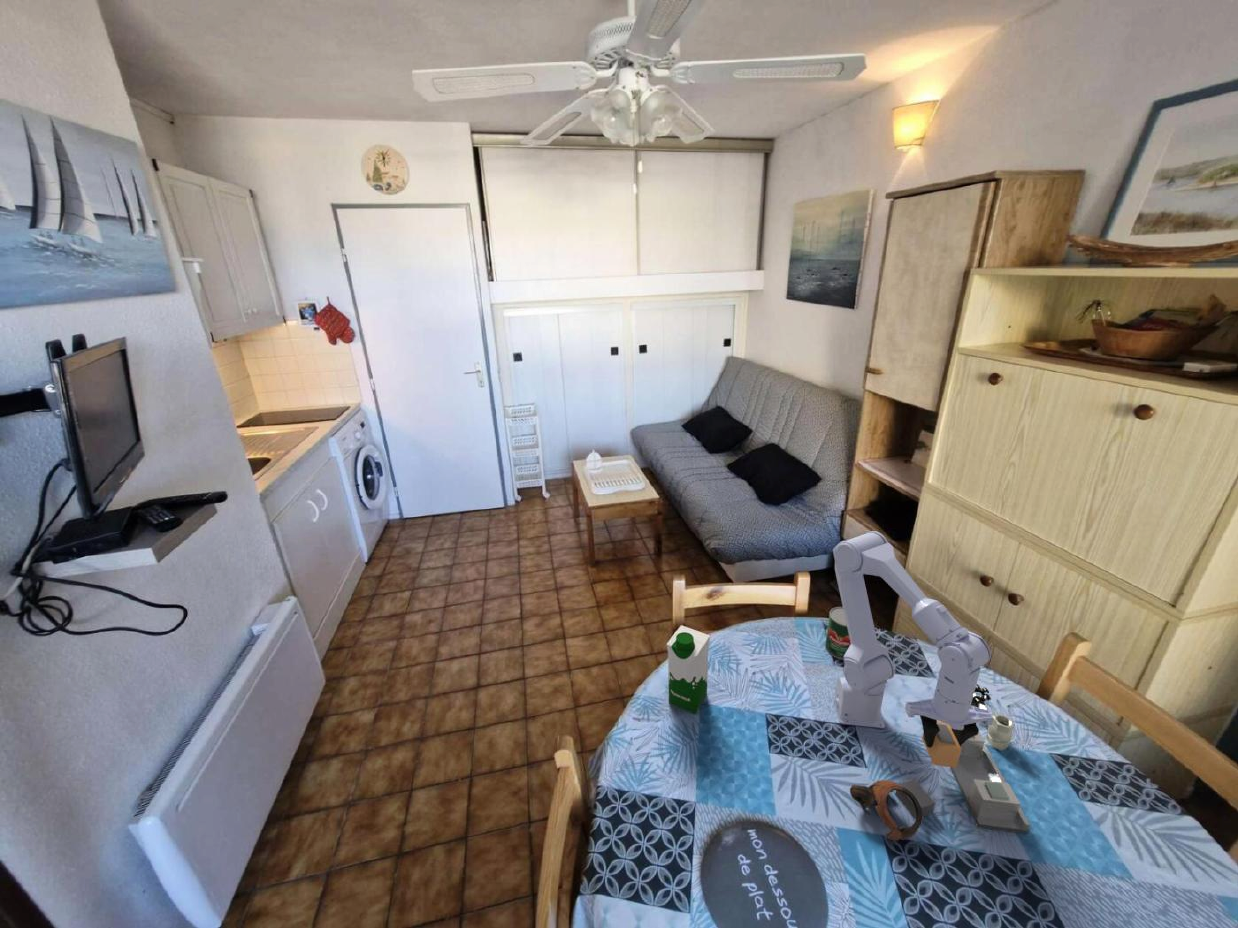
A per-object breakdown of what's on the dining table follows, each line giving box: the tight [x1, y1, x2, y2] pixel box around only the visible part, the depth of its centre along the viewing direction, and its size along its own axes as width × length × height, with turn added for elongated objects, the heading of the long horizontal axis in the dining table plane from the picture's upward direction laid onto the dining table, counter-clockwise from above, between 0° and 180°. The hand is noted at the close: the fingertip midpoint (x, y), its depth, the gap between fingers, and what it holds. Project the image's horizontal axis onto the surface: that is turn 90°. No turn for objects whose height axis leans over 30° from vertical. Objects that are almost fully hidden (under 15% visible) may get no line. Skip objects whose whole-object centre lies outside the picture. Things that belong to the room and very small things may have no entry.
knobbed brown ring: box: [849, 779, 924, 842], centre depth 95 cm, size 12×10×8 cm
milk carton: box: [666, 624, 711, 715], centre depth 120 cm, size 9×9×20 cm
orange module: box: [921, 721, 962, 768], centre depth 99 cm, size 4×6×5 cm, turn 170°
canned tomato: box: [824, 606, 851, 661], centre depth 134 cm, size 8×8×11 cm
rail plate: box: [949, 726, 1031, 835], centre depth 100 cm, size 8×20×6 cm, turn 170°
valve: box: [971, 683, 1016, 751], centre depth 111 cm, size 7×7×12 cm
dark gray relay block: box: [894, 778, 936, 820], centre depth 97 cm, size 4×5×3 cm
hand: (940, 744), depth 100 cm, fingers closed on orange module, 4 cm apart
